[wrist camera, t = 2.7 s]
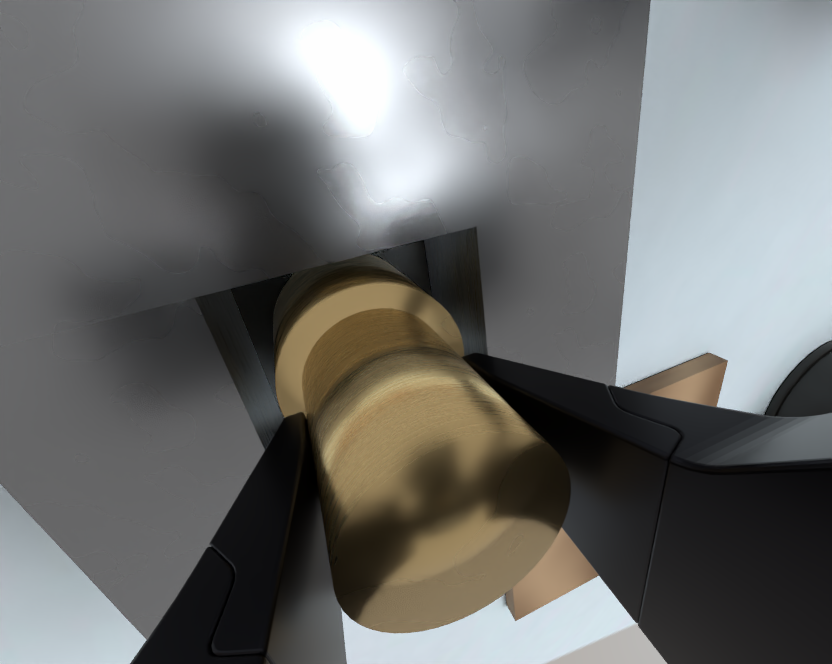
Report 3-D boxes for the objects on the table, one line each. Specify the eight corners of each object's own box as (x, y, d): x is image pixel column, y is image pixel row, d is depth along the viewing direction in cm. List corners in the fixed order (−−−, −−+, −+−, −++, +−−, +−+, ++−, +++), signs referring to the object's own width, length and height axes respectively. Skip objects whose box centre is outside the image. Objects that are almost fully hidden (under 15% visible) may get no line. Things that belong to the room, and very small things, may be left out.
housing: (539, 15, 12) (654, -48, 8) (544, 420, 19) (606, 477, 15) (-121, 87, 8) (-427, 26, 4) (201, 560, 15) (182, 678, 12)
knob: (402, 235, 13) (613, 343, 5) (425, 360, 15) (594, 568, 7) (250, 273, 12) (216, 489, 4) (299, 402, 14) (340, 705, 6)
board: (709, 352, 21) (727, 360, 21) (673, 516, 28) (686, 527, 27) (491, 442, 18) (502, 455, 17) (506, 604, 24) (515, 620, 24)
